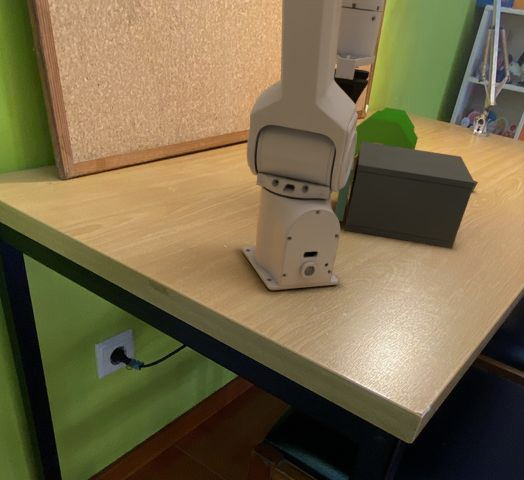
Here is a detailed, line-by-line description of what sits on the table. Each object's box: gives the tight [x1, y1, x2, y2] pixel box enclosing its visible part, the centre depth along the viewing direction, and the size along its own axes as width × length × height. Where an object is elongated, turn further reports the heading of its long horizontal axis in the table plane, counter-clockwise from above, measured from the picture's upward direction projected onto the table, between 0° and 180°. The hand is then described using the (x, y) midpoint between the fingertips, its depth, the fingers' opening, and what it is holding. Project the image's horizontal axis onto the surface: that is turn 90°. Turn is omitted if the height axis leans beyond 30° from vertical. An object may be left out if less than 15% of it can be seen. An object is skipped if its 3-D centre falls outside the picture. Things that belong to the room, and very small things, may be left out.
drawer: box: [334, 148, 356, 222], centre depth 69 cm, size 18×11×7 cm, turn 80°
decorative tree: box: [351, 107, 419, 180], centre depth 86 cm, size 11×12×30 cm
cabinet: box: [344, 141, 475, 249], centre depth 69 cm, size 14×12×9 cm
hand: (335, 133), depth 66 cm, fingers open, 4 cm apart
